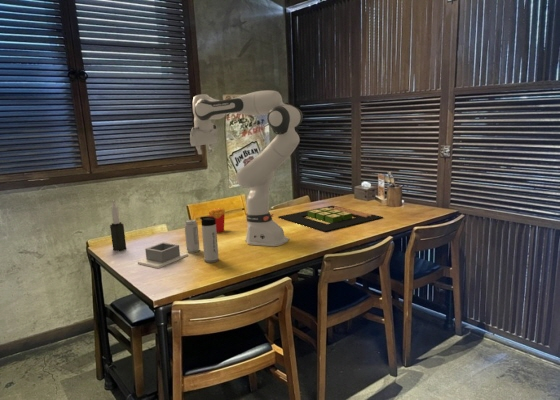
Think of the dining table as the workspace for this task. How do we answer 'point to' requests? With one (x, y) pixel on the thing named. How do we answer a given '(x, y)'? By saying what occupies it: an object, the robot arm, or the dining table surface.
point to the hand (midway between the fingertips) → (205, 153)
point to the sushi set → (330, 218)
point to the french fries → (218, 218)
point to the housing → (162, 255)
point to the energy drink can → (192, 236)
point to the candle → (117, 230)
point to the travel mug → (209, 239)
